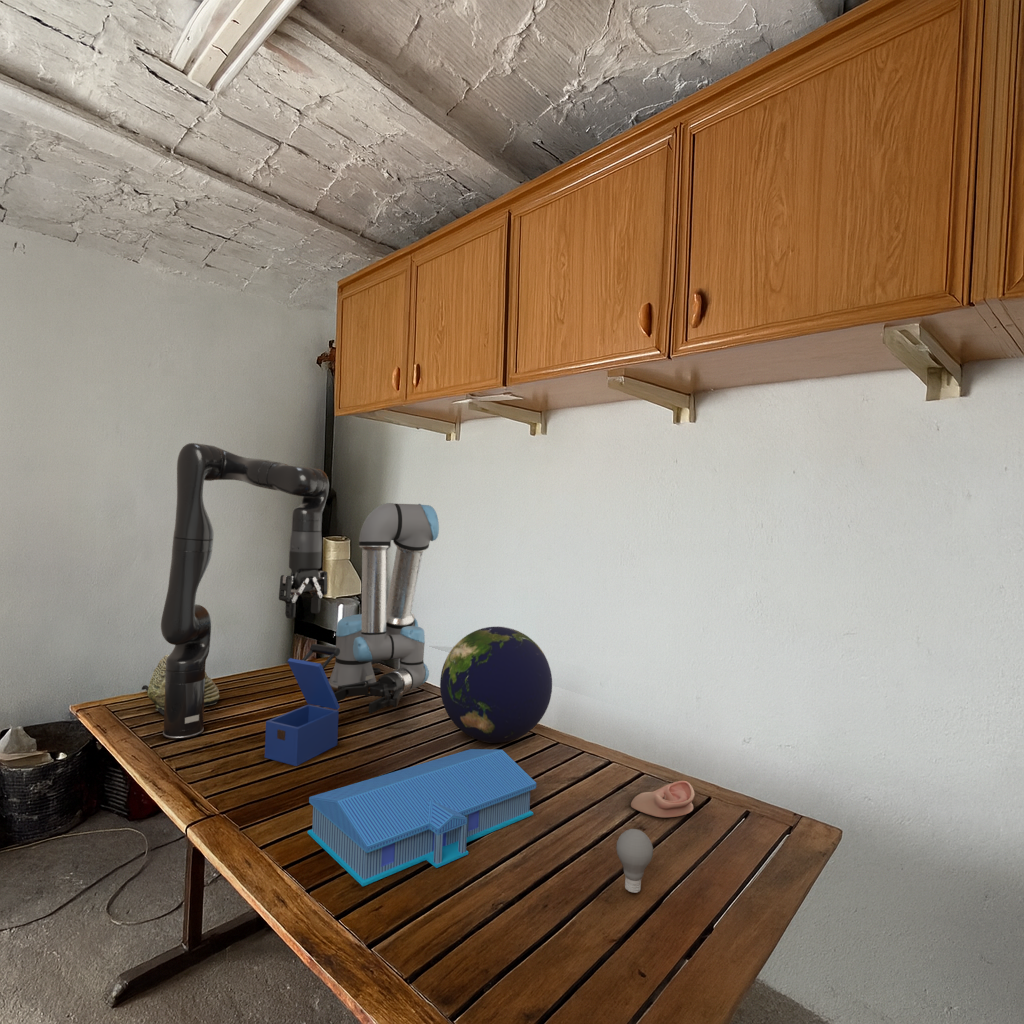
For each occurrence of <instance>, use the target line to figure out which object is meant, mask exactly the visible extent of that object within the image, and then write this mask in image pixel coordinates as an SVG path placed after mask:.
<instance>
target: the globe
mask: <svg viewBox="0 0 1024 1024" xmlns="http://www.w3.org/2000/svg"><path fill="white" fill-rule="evenodd" d="M551 670H552V669H551V667H550V664H549V660H548V659H547V656H546V655H545V652H544V651H543V650H542V648H541V647H540V646H539V645H538V644H537V643H536V642H535V641H534V640H533V639H532V638H531V637H530V636H528V635H526V634H525V633H523V632H522V631H519V630H517V629H514V628H510V627H508V626H507V627H506V626H500V625H499V626H487V627H482V628H479V629H477V630H474V631H472V632H470V633H469V634H466V635H465V636H464V637H462V638H461V639H460V640H459V641H458V642H457V643H456V644H455V645H454V646H452V648H451V650H450V651H449V653H448V654H447V656H446V658H445V661H444V662H443V666H442V669H441V671H440V672H441V673H440V680H439V691H440V698H441V701H442V705H443V707H444V710H445V712H446V714H447V715H448V717H449V719H450V720H451V722H452V723H453V724H454V725H455V726H456V728H458V729H459V730H460V731H461V732H463V733H464V734H465V735H467V736H469V737H470V738H472V739H475V740H477V741H480V742H484V743H488V744H489V743H490V744H499V743H500V744H501V743H506V742H507V743H508V742H511V741H515V740H517V739H519V738H521V737H523V736H525V735H527V734H528V733H529V732H531V730H533V729H534V728H535V727H536V726H538V724H539V723H540V721H541V720H542V718H543V717H544V716H545V713H546V712H547V710H548V708H549V705H550V702H551V699H552V698H551V697H552V693H553V677H552V671H551Z"/></svg>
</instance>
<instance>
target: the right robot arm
mask: <svg viewBox="0 0 1024 1024" xmlns="http://www.w3.org/2000/svg"><path fill="white" fill-rule="evenodd" d="M439 532H440V522H439V518H438V514H437V512H436V510H435V508H434V507H433V506H431V505H429V504H422V503H418V504H417V503H394V502H387V503H383V504H380V505H378V506H376V507H375V508H373V510H372V511H371V512H370V513H369V514H368V515H367V517H366V518H365V520H364V522H363V524H362V526H361V529H360V532H359V538H358V547H359V548H360V550H361V552H362V554H361V556H362V557H361V613H358V614H351V615H347V616H345V617H342V618H340V619H339V621H338V622H337V625H336V631H335V647H336V648H339V649H340V654H339V655H338V656H335V662H334V666H333V668H332V672H331V675H330V677H329V679H328V681H329V683H330V686H331V688H332V690H333V692H334V695H335V697H336V699H337V702H338V703H339V702H340V701H344V700H345V699H346V698H348V697H349V698H350V697H359V696H365V697H375V698H376V697H378V698H377V699H375V700H373V701H371V702H369V703H368V714H370V715H372V714H374V713H375V712H377V711H379V710H381V709H384V708H386V707H387V708H390V707H391V706H392V708H398V705H399V702H400V699H402V698H403V697H404V694H406V693H407V692H410V691H412V690H414V689H417V688H419V687H420V686H422V685H423V684H425V683H426V682H427V681H428V679H429V677H430V670H429V668H428V666H427V664H426V663H425V662H424V657H425V645H426V644H425V643H426V639H425V638H426V635H425V630H424V628H422V627H421V626H419V623H418V620H417V619H416V617H415V614H414V613H413V612H412V609H413V605H414V600H415V594H416V589H417V585H418V580H419V574H420V568H421V564H422V559H423V553H424V552H426V551H427V550H428V549H429V547H430V542H433V541H434V542H435V541H436V540H437V539H438V537H439ZM392 543H393V544H394V546H395V547H396V550H395V556H394V561H393V565H392V566H393V568H392V573H391V578H390V583H389V590H388V550H389V549H390V548H391V547H392V546H391V545H392ZM388 660H399V668H397V669H394V670H392V671H389V672H387V673H385V674H382V675H380V677H379V678H378V679H377V678H376V675H375V674H379V673H381V670H382V669H380V668H379V667H373V665H375V664H382V665H386V663H385V661H388Z"/></svg>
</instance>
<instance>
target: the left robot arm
mask: <svg viewBox="0 0 1024 1024" xmlns="http://www.w3.org/2000/svg"><path fill="white" fill-rule="evenodd" d="M205 481H206V482H207V481H208V482H213V481H238V482H243V483H246V484H248V485H251V486H254V487H258V488H262V489H266V490H272V491H277V492H278V491H279V492H282V493H285V494H289V495H292V496H296V497H302V499H301V502H300V505H298V506H296V507H294V508H293V510H292V513H291V531H290V537H289V548H288V549H289V550H288V552H289V554H288V568H289V569H290V570H291V573H290V575H286V574H282V575H280V577H279V578H280V579H279V590H278V591H279V592H278V600H279V601H282V602H284V603H285V613H284V614H285V618H287V619H291V620H293V619H295V618H296V613H297V612H296V608H297V603H296V602H297V600H298V598H299V596H301V595H302V593H305V592H309V593H310V596H311V598H310V600H311V601H310V613H311V614H320V613H321V612H320V611H321V603H322V602H321V601H322V600H321V599H322V598H323V596H324V595H325V596H326V595H327V594H328V571H326V570H320V569H321V568H322V557H323V556H322V555H323V553H322V552H323V537H322V527H323V526H322V523H323V512H324V509H325V506H326V502H327V499H328V496H329V492H330V491H329V489H330V482H329V477H328V476H327V473H326V472H325V471H324V470H322V469H320V468H314V467H305V466H296V465H289V464H287V463H284V462H281V461H274V460H270V459H269V460H268V459H262V458H253V457H252V458H250V457H246V456H241V455H238V454H235V453H232V452H229V451H228V450H226V449H223V448H220V447H218V446H215V445H211V444H204V443H198V442H196V443H195V442H190V443H189V442H188V443H187V444H185V445H183V446H182V447H181V449H180V451H179V453H178V456H177V462H176V508H175V522H174V530H173V537H172V545H171V560H170V568H169V577H168V586H167V592H166V596H165V601H164V606H163V610H162V613H161V614H162V615H161V620H160V631H161V635H162V638H163V639H164V640H165V641H166V642H167V643H168V644H170V645H173V646H174V647H173V650H172V651H171V652H170V653H169V654H168V655H169V656H168V657H167V659H166V674H165V705H164V710H163V709H162V708H157V709H158V710H157V711H158V712H159V714H161V715H162V716H163V731H162V737H164V738H166V739H169V740H185V739H190V738H191V739H192V738H194V737H197V736H199V735H202V734H203V732H204V730H205V729H204V722H205V721H204V718H205V706H204V693H205V672H206V664H207V663H206V662H207V658H208V655H209V653H210V647H211V636H212V619H211V614H210V613H209V611H208V610H207V608H206V607H204V606H203V605H200V604H196V598H197V592H198V588H199V586H200V584H201V581H202V579H203V577H204V575H205V573H206V571H207V569H208V566H209V564H210V562H211V559H212V553H213V546H214V535H215V534H214V533H215V532H214V527H213V524H212V522H211V519H210V517H209V514H208V513H207V510H206V507H205V504H204V495H203V494H204V484H205ZM148 688H149V685H146V684H144V685H142V687H141V690H143V691H144V690H145V691H146V692H147V693H148Z"/></svg>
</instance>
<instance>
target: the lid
mask: <svg viewBox="0 0 1024 1024" xmlns="http://www.w3.org/2000/svg"><path fill="white" fill-rule="evenodd" d="M313 653H314V654H320V655H326V656H329V657H327V659H326V660H325V661H324V662H323V664H322V663H320V662H319V663H318V662H314V661H308V659H309V658H310V657H311V655H313ZM339 654H340V649H339V648H336V646H330V645H323V644H318V643H312V644H311V645H310V648H309V651H308V652H307V653H306V654H305V655H304V657H303V658H302V659H298V658H292V657H290V658H288V659H287V663H288V665H289V668H290V670H291V671H292V674H293V676H294V678H295V680H296V683H297V685H298V688H299V689H300V691H301V693H302V696H303V697H304V699H305V702H306V704H307V705H308V704H309V705H314V706H319V707H323V708H328V709H333V710H337V711H339V709H340V707H341V706H340V704H339V701H338V702H337V699H336V697H335V695H334V692H335V691H334V690H332V688H331V686H330V683H329V678H328V676H327V674H326V672H325V668H326V667H327V666H328V665H329V664H330V662H332V660H333V659H334V658H335V657H336V656H338V655H339Z"/></svg>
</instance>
